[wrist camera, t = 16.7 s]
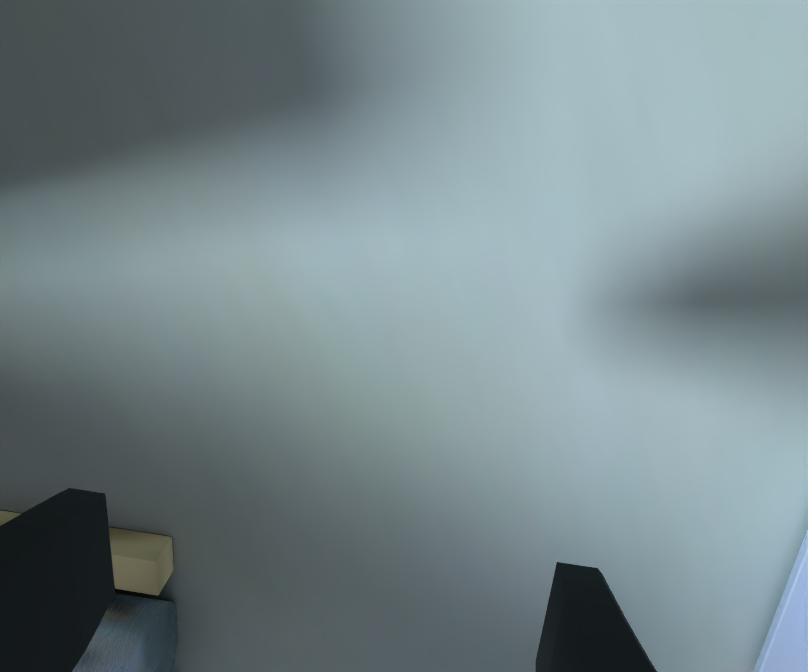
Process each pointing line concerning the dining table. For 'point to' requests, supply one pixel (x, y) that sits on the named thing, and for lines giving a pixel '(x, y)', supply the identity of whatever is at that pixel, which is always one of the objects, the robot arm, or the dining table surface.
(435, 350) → the dining table surface
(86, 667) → the roller
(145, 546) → the roller rack
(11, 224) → the dining table surface
